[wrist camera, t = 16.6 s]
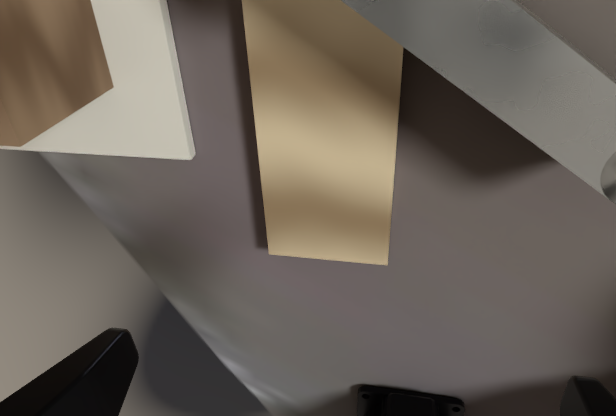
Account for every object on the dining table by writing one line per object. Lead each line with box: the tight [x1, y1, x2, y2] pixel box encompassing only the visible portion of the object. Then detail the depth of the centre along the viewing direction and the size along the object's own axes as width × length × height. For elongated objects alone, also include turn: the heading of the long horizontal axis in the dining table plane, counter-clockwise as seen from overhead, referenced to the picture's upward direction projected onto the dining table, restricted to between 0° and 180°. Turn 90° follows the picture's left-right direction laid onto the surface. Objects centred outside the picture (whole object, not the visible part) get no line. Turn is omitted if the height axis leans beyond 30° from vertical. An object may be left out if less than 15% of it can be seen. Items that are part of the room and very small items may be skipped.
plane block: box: [242, 0, 404, 265], centre depth 19 cm, size 17×6×1 cm, turn 2°
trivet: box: [0, 0, 196, 160], centre depth 20 cm, size 12×11×1 cm
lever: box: [341, 0, 616, 204], centre depth 14 cm, size 16×3×4 cm, turn 58°
